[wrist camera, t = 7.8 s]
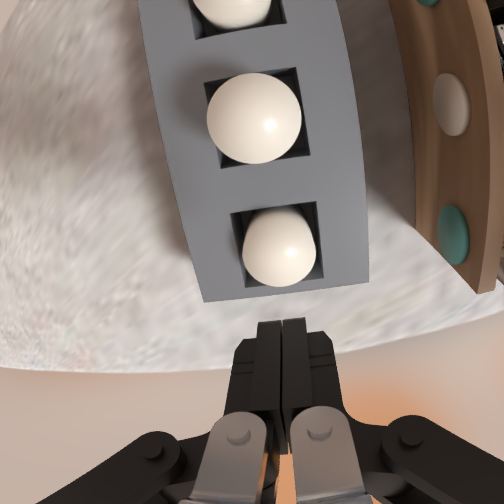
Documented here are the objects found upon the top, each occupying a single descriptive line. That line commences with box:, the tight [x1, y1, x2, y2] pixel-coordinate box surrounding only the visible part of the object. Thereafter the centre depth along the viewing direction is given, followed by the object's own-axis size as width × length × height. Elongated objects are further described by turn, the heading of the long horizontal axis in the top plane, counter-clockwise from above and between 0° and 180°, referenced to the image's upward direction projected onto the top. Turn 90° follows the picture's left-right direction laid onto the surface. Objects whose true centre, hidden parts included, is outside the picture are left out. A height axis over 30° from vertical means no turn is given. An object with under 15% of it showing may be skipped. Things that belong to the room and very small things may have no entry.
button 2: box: [207, 73, 301, 164], centre depth 14 cm, size 4×4×4 cm
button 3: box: [242, 204, 316, 287], centre depth 18 cm, size 4×4×4 cm
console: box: [137, 0, 369, 302], centre depth 17 cm, size 10×20×4 cm, turn 10°
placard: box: [389, 0, 504, 294], centre depth 13 cm, size 2×18×9 cm, turn 10°
